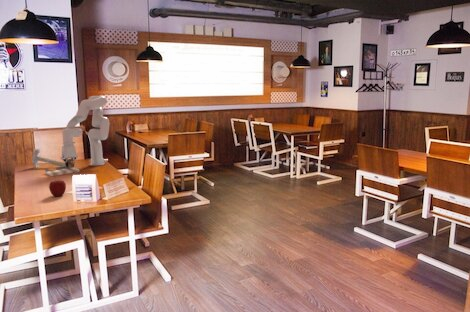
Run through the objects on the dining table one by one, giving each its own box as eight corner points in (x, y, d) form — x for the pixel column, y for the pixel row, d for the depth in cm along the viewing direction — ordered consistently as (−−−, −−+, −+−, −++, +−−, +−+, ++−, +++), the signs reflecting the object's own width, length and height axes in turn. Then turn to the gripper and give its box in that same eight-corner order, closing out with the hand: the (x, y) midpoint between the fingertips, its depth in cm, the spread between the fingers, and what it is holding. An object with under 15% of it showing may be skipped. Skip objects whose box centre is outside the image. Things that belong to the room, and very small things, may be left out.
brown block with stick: (71, 166, 318) (70, 158, 317) (76, 167, 311) (76, 160, 310) (66, 166, 315) (65, 159, 314) (71, 168, 308) (71, 160, 307)
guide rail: (73, 167, 321) (72, 164, 321) (73, 167, 320) (73, 165, 320) (45, 171, 306) (45, 169, 305) (46, 171, 305) (45, 169, 305)
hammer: (69, 156, 331) (36, 148, 332) (66, 157, 326) (32, 148, 327) (67, 173, 334) (33, 165, 335) (64, 174, 329) (30, 166, 330)
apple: (64, 192, 249) (62, 177, 248) (68, 195, 242) (67, 180, 240) (48, 195, 243) (46, 180, 242) (52, 198, 236) (51, 182, 234)
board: (73, 169, 322) (72, 167, 321) (79, 171, 314) (79, 169, 313) (45, 173, 306) (45, 171, 306) (51, 176, 298) (51, 173, 298)
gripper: (76, 142, 320) (78, 164, 323) (55, 144, 308) (57, 167, 311) (80, 143, 315) (82, 165, 318) (59, 145, 303) (61, 168, 306)
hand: (70, 166), depth 315 cm, fingers closed on brown block with stick, 4 cm apart
